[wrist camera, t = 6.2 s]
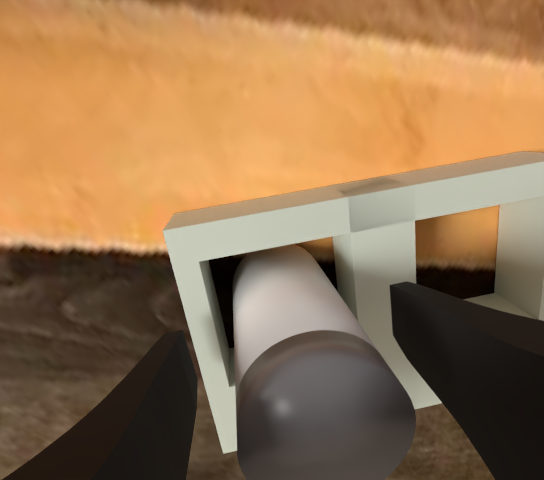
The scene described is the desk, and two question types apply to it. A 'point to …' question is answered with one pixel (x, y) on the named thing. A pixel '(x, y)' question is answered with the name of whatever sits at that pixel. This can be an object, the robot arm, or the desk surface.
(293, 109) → the desk surface
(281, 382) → the salt shaker
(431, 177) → the socket block
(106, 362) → the desk surface
